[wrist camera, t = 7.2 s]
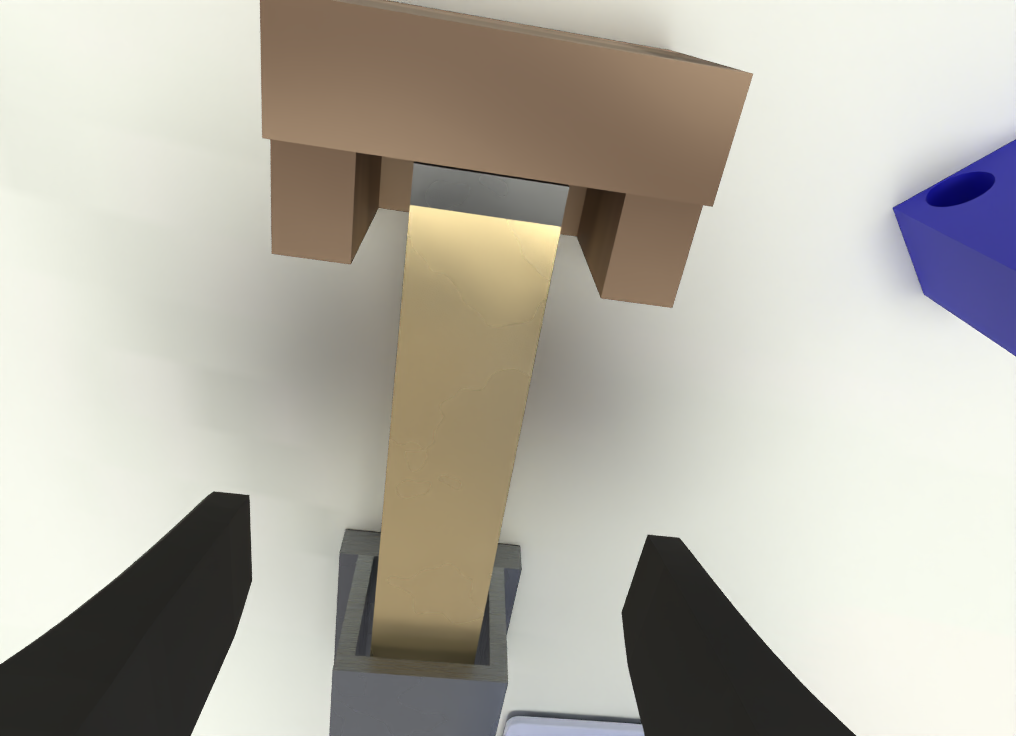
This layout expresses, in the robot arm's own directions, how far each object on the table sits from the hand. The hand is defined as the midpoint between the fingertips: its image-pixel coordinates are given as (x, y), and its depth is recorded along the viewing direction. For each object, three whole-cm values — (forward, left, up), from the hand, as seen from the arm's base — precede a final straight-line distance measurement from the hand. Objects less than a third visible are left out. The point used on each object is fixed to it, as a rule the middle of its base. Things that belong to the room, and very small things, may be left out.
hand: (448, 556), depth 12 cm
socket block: (+6, 0, -8) cm, 10 cm away
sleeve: (-10, 0, -8) cm, 13 cm away
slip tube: (-1, 0, -7) cm, 7 cm away
